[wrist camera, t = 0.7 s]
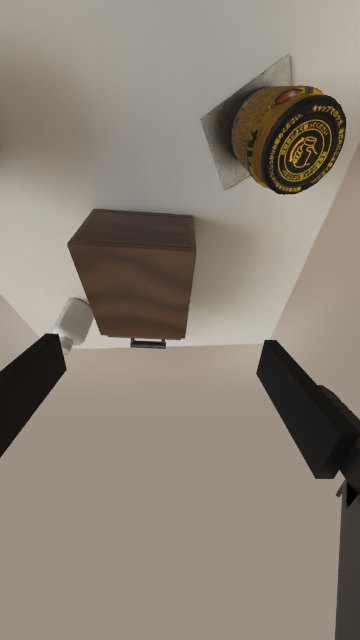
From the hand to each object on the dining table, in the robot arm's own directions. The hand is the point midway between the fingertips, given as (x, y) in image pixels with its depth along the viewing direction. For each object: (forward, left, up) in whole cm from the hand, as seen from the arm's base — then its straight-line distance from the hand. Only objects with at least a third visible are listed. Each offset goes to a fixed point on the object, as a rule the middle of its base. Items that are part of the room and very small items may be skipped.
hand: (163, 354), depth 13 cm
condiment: (-9, +8, -23) cm, 26 cm away
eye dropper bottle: (+19, -18, -23) cm, 35 cm away
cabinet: (+8, -4, -22) cm, 24 cm away
